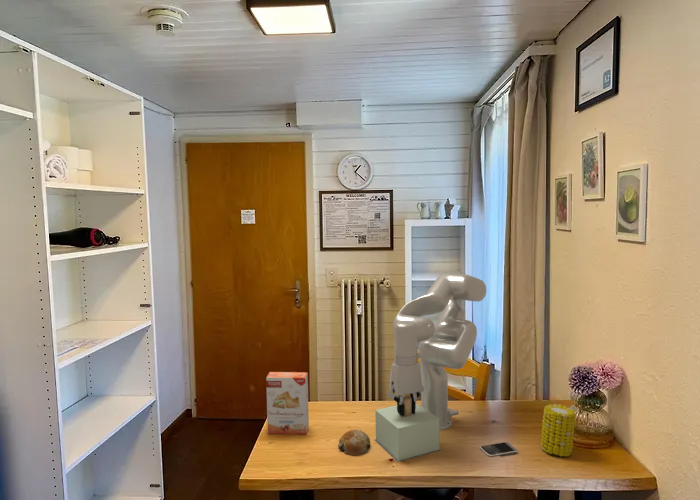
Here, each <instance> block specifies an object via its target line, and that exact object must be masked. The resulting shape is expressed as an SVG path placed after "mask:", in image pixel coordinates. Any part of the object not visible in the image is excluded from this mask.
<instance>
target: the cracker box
mask: <svg viewBox="0 0 700 500" xmlns="http://www.w3.org/2000/svg"><path fill="white" fill-rule="evenodd" d="M308 377H309V374H308V372H301V371H300V372H297V371H289V372H288V371H269V372H268V374H267V376H266V380H265V381H266V383H265V384H266V417H267V418H266V419H267V421H266V422H267V423H266V424H267V434H274V435H275V434H277V435H279V434H281V435H283V434H284V435H307V433H308V430H309V427H310V426H309V425H310V424H309V422H310V421H309V417H310V416H309V384H308V383H309V381H308V380H309V379H308Z"/></svg>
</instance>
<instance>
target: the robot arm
mask: <svg viewBox="0 0 700 500" xmlns="http://www.w3.org/2000/svg"><path fill="white" fill-rule="evenodd" d="M486 294H487V286H486V284H485V282H484V280H482V279H481V278H478V277H476V276H473V275H470V274H463V273H451V272H450V273H448V272H446V273H441V274H440V275H439V276H437V278H436V279H435V281H433V283H432V284H431V285H430V288H429V289H428V290H427V291H426V293H425V294H424V295H422V296H419V297H416V298H415V299H412V300H411V301H409V302H407V303H405V304H404V305H403V306H402V307H401V308H400V310H398V312H397V314H396V315H395V317H394V319H393V322H392V331H393V346H394V347H393V349H394V350H393V353H394V354H393V355H394V359H393V360H394V361H393V362H392V363H391V367H390V373H389V374H390V375H389V386H388V387H389V391H388V393H387V398H389V399H391V400H394V401H395V402H396V405H397V412H398V414H400V415H401V416H404V404H403V396H410V397H411V398H412V413H413V414H415V409H416V403H417V401H418V398H419V397H420V395H421V398H420V399H421V403H420V404H421V405H420V406H421V407H423V408H424V409H426V410H427V411H429V412H430V413H431V414H433V415H434V416H436V417H437V418H439V431H444V430H447V429H450V427H452V424H453V421H452V417H453V416H458V415H459V414H460V413H459V412H460V411H459V410H458V409H456V408H455V409H452V408H451V407H449V406H448V405H449V404H448V403H449V401H448V400H449V399H448V398H449V394H448V393H449V391H448V390H449V389H448V387H449V385H448V384H449V383H448V382H449V380H448V379H449V377H448V373H447V371H446V369H445V368H447V369H448V368H449V369H453V370H460V369H462V368H464V366H466V363H467V361H468V359H469V357H470V356H471V355H470V354H471V352H472V351H473V348H474V346H475V344H476V340H477V337H478V336H477V335H478V330H477V326H476V324H475V323H474V322H473V321H471V320H469V319H468V320H467V319H465V315H466V314H465V313H466V312H465V310H464V308H463V307H462V305H461V304H460V302H459V301H466V302H467V301H469V302H481V301H483V300H484V299H485V297H486V296H487V295H486ZM439 313H440V315H439V317H438V319H437V320H436V322H435V323H434V321H433V320H432V319H430V318H429V317H428V318H427V317H424V316H430V315H435V314H439ZM418 342H419V343H418ZM418 344H419V345H418ZM418 360H419V361H418Z"/></svg>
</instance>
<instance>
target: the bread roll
mask: <svg viewBox="0 0 700 500" xmlns="http://www.w3.org/2000/svg"><path fill="white" fill-rule="evenodd" d="M337 447H338V449H340V450H341V452H343V453H345V454H347V455H350V456H351V455H352V456H358V455H364V454H366V453H368V452H369V451H370V447H371V440H370V437H369V436H368V434H367V433H366V432H365V431H363V430H362V429H351V430H349V431H346V432H345V433H343V435H342V436H340V438H339V441H338V445H337Z"/></svg>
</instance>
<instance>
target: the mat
mask: <svg viewBox="0 0 700 500" xmlns="http://www.w3.org/2000/svg"><path fill="white" fill-rule="evenodd" d="M374 441H375V442H376V444H378V445H379V446H380V447H381V448H382V449H383V450H384V451H385V452H386V453H387V454H388V455H390V457H391V458H393V459H394V461H396V462H397V463H400V462H404V461H408V460H411V459H414V458H418V457H419V458H420V457H422V456H425V455H430V454H433V453H437V452H440V451H441V449H439V450H436V451H432V452H429V453H425V454H421V455H418V456H414V457H410V458H407V459H403V460H400V461H398V460H397V459H396V458H395V457H394V456H393V455H392V454H391V453H390V452H389V451H388V450H387V449H386V448H384V447H383V446H382V445H381V444H380V443H379V442H378V441H377V440H376V438H375V439H374Z"/></svg>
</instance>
